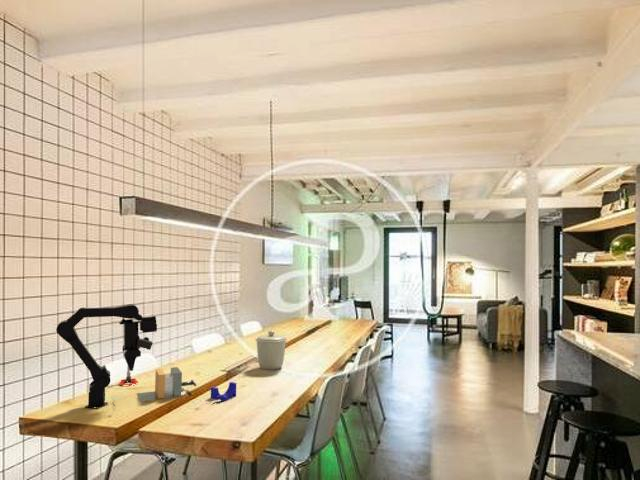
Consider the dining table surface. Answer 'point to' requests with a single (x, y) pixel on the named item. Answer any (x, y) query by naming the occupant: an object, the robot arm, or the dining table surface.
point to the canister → (271, 350)
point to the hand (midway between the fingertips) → (131, 370)
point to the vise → (176, 389)
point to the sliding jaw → (160, 383)
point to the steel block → (169, 384)
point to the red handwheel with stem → (128, 378)
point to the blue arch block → (228, 394)
